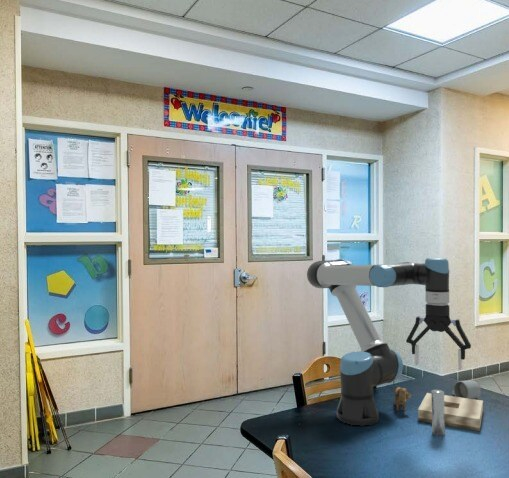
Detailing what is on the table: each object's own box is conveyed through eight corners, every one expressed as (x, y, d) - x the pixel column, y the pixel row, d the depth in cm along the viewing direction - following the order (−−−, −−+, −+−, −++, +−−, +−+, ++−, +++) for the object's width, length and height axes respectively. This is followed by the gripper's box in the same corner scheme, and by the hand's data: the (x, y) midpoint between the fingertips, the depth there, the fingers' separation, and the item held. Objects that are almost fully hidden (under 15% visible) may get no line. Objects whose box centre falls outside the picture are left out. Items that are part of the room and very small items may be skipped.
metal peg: (431, 434, 152) (430, 392, 152) (433, 429, 155) (432, 389, 155) (444, 436, 150) (443, 394, 150) (445, 432, 153) (444, 390, 153)
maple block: (418, 420, 163) (417, 409, 163) (427, 402, 181) (427, 392, 181) (479, 431, 153) (479, 419, 153) (483, 411, 171) (482, 400, 171)
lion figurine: (412, 414, 169) (412, 390, 169) (398, 414, 170) (397, 390, 170) (401, 400, 184) (401, 378, 184) (388, 400, 184) (388, 378, 184)
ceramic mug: (483, 400, 182) (482, 381, 182) (468, 403, 179) (467, 384, 179) (461, 392, 192) (461, 374, 192) (447, 395, 188) (446, 377, 189)
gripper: (397, 303, 155) (397, 364, 156) (477, 307, 143) (478, 374, 144) (401, 300, 162) (402, 359, 162) (478, 304, 150) (479, 368, 150)
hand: (438, 366), depth 153 cm, fingers open, 13 cm apart
